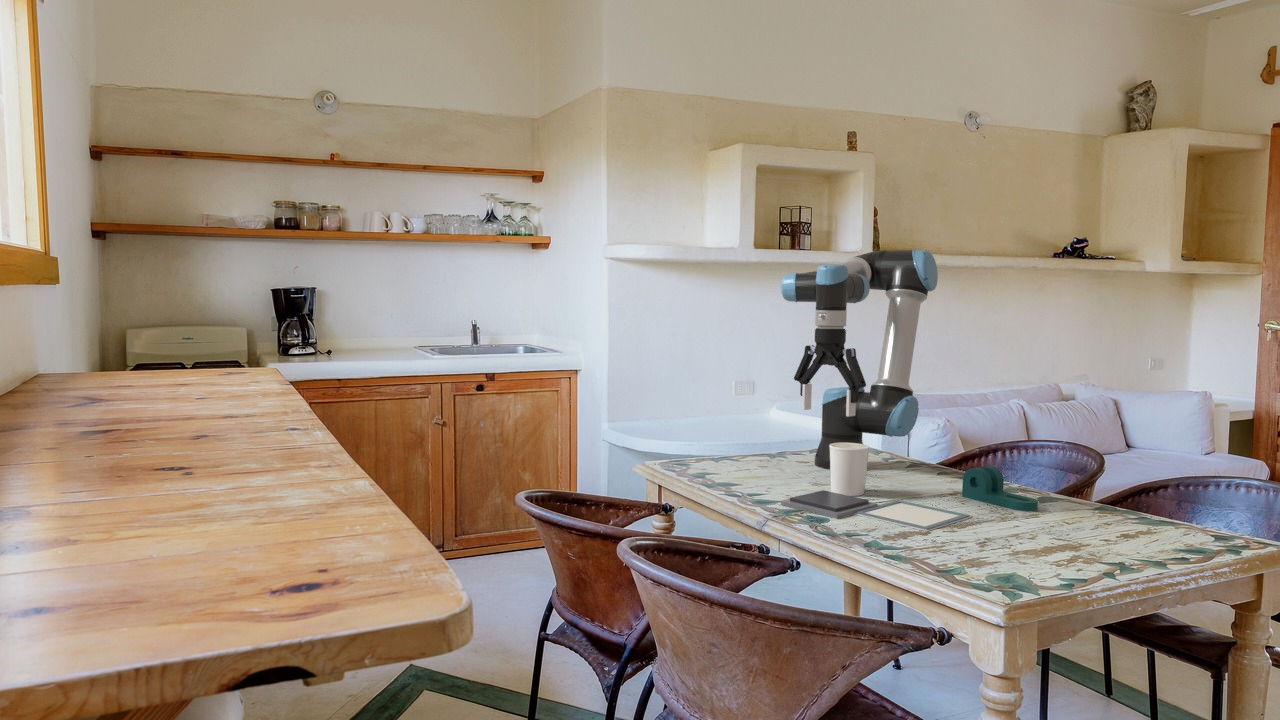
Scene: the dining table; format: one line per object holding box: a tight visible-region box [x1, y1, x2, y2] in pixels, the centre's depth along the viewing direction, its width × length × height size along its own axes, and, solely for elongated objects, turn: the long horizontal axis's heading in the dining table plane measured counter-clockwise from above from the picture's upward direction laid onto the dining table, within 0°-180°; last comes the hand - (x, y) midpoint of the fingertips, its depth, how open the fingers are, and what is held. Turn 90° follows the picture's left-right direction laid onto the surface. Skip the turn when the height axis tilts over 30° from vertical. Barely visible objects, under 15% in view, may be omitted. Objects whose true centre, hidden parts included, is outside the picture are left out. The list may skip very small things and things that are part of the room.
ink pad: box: [780, 490, 878, 519], centre depth 209 cm, size 16×16×2 cm
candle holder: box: [829, 443, 870, 497], centre depth 224 cm, size 10×10×12 cm
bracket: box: [961, 465, 1039, 512], centre depth 216 cm, size 18×7×8 cm, turn 31°
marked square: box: [853, 499, 973, 532], centre depth 202 cm, size 19×19×1 cm
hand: (828, 412), depth 221 cm, fingers open, 13 cm apart
